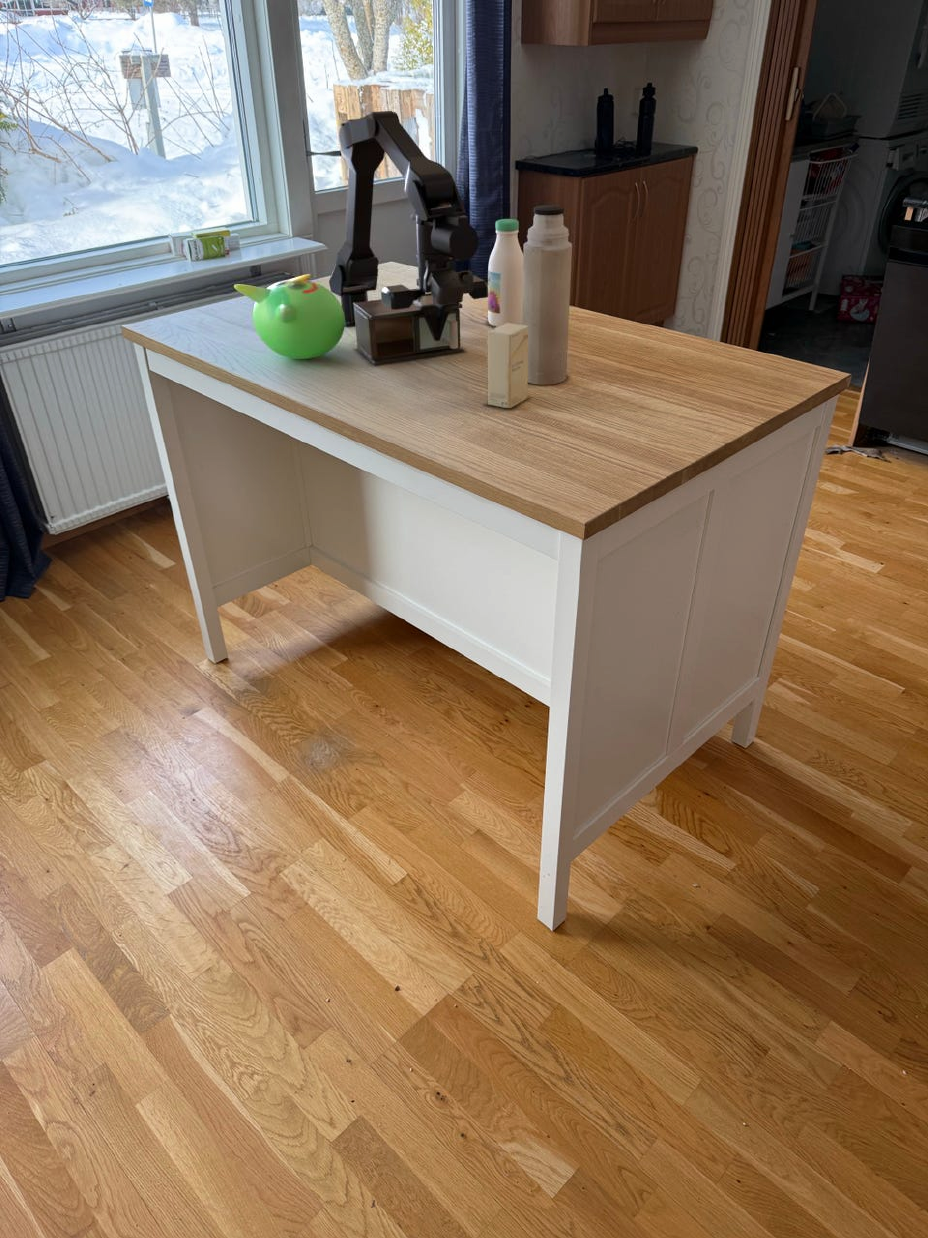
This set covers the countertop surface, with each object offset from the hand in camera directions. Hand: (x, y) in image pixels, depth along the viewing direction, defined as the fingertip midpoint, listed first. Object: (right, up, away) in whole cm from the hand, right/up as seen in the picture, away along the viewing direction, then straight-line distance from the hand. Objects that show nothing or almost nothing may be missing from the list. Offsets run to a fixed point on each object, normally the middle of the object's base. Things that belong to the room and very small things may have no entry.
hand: (436, 340), depth 165 cm
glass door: (+1, -1, +4) cm, 4 cm away
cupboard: (-6, +1, +9) cm, 11 cm away
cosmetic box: (+12, -15, -15) cm, 25 cm away
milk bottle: (+14, +11, +23) cm, 29 cm away
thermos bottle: (+19, -8, -5) cm, 22 cm away
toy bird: (-26, -1, +7) cm, 27 cm away
